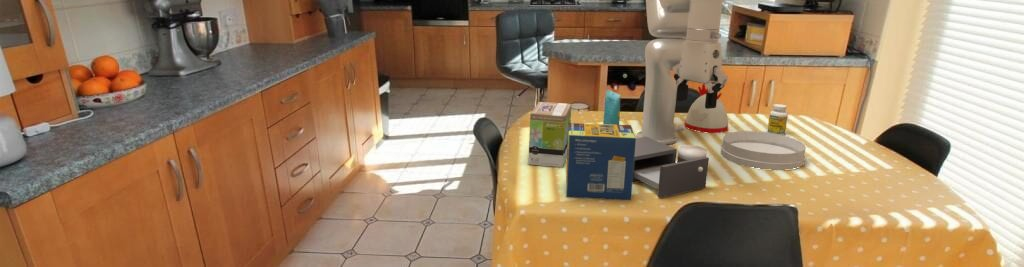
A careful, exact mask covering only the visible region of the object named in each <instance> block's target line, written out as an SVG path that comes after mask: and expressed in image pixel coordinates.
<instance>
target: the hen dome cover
mask: <svg viewBox="0 0 1024 267" xmlns="http://www.w3.org/2000/svg"><path fill="white" fill-rule="evenodd" d="M711 85H712V84H711ZM697 87H698V88H697V89H698V92H699V95H700V96H699V97H698V98H697V99H695V100H694V102H693V103H691V106H690V107H689V109H688V112H687V114H686V117H685V120H684V121H685V122H684V127H685V126H686V127H687V129H688V128H689V129H688V130H690V129H693V130H696V131H695V132H697V131H700V132H699V133H704V132H707V133H706V134H720V133H721V132H722V133H725V131H726V132H727V131H728V128H729V118H728V114H727V110H726V107H725V105H724V103H723V101H722V99H720V98H721V96H722V92H719V93H718V94H717V103H716V108H711V109H706V108H705V101H706V93H707V92H709V91H708V89H707V87H706V85H705V84H702V87H701V86H697ZM712 87H713V85H712ZM686 127H685V128H686ZM693 130H692V131H693Z"/></svg>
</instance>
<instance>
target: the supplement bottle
mask: <svg viewBox="0 0 1024 267" xmlns="http://www.w3.org/2000/svg"><path fill="white" fill-rule="evenodd" d="M788 117H789V114H788V112H787V105H785V104H777V103H776V104H772V110H771V111H770V112H769V117H768V122H767V124H768V125H767V131H766V132H767V133H773V134H778V135H783V136H786V130H787V123H788Z"/></svg>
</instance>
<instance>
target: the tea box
mask: <svg viewBox="0 0 1024 267" xmlns="http://www.w3.org/2000/svg"><path fill="white" fill-rule="evenodd" d="M529 115H530V116H529V136H528V137H529V141H528V162H527V164H528V165H533V166H542V167H553V168H554V167H555V168H563V166H564V164H565V161H567V146H568V129H569V123H572V122H571V121H572V120H571V119H572V118H571V117H572V104H571V103H563V102H561V103H560V102H548V101H538V102H537V104H536V105H535V107H534V108H533V110H532V111H530V114H529Z"/></svg>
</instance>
